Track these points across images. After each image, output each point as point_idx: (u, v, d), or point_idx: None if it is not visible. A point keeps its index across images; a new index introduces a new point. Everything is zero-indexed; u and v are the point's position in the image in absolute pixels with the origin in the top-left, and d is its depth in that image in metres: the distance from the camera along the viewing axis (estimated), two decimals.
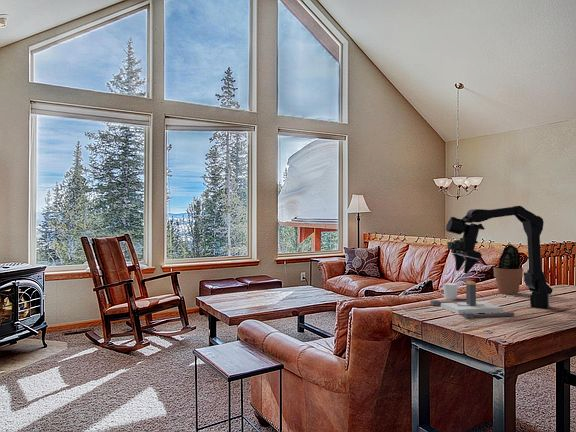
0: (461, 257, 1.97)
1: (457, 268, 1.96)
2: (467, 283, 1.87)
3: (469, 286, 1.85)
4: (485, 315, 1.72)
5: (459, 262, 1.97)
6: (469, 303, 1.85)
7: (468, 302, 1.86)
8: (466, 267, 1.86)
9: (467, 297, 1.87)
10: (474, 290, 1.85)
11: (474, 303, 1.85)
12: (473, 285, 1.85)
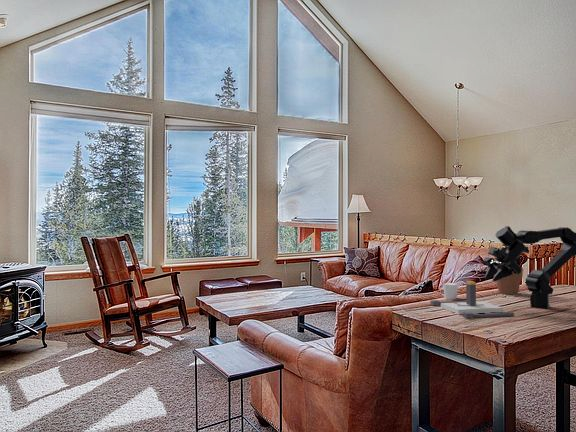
0: (494, 269, 1.92)
1: (487, 277, 1.90)
2: (467, 283, 1.87)
3: (469, 286, 1.85)
4: (485, 315, 1.72)
5: (491, 272, 1.91)
6: (469, 303, 1.85)
7: (468, 302, 1.86)
8: (497, 275, 1.84)
9: (467, 297, 1.87)
10: (474, 290, 1.85)
11: (474, 303, 1.85)
12: (473, 285, 1.85)
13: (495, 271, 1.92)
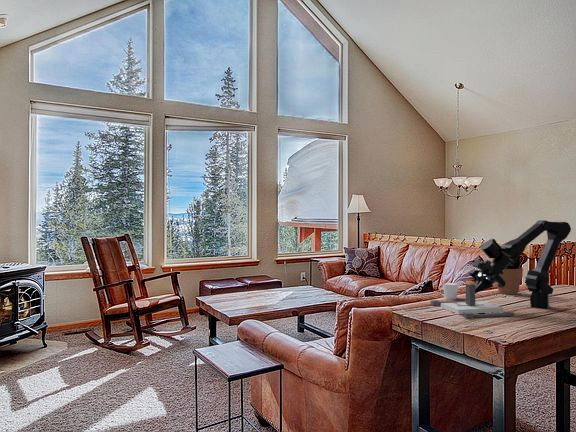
0: None
1: (475, 290, 1.87)
2: (466, 283, 1.87)
3: (468, 286, 1.85)
4: (485, 315, 1.72)
5: None
6: (468, 303, 1.85)
7: (467, 302, 1.86)
8: (478, 287, 1.86)
9: (466, 297, 1.87)
10: (473, 290, 1.85)
11: (473, 303, 1.85)
12: (473, 285, 1.85)
13: None
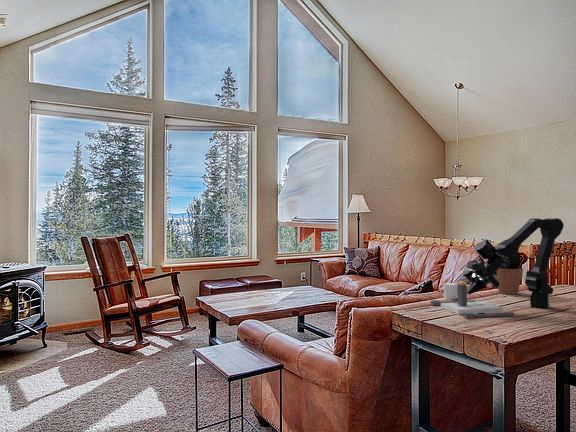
0: None
1: None
2: (458, 283, 1.86)
3: (460, 286, 1.85)
4: (485, 315, 1.72)
5: None
6: (460, 303, 1.85)
7: (459, 302, 1.85)
8: (472, 288, 1.85)
9: (458, 297, 1.86)
10: (465, 290, 1.84)
11: (465, 303, 1.84)
12: (464, 285, 1.84)
13: None
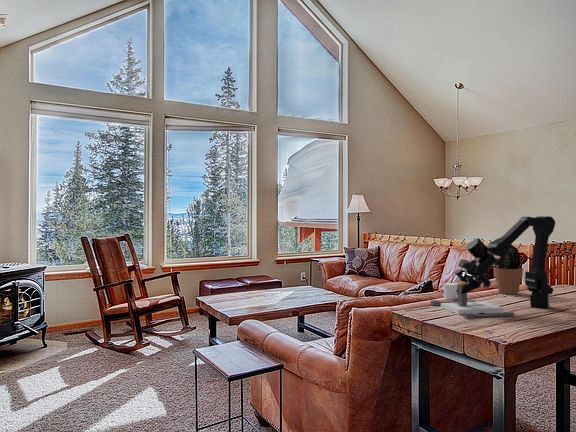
0: None
1: None
2: (458, 283, 1.86)
3: (460, 286, 1.85)
4: (485, 315, 1.72)
5: None
6: (460, 303, 1.85)
7: (459, 302, 1.85)
8: (465, 288, 1.83)
9: (458, 297, 1.86)
10: None
11: (465, 303, 1.84)
12: (464, 285, 1.84)
13: None
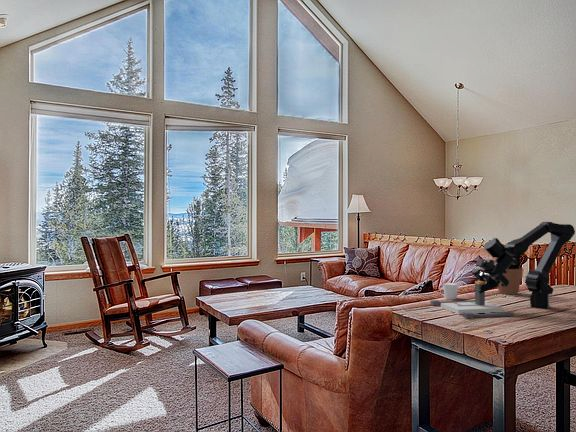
0: (484, 281, 1.90)
1: None
2: (476, 283, 1.87)
3: (478, 285, 1.86)
4: (485, 315, 1.72)
5: None
6: (478, 303, 1.86)
7: (477, 302, 1.87)
8: (483, 287, 1.84)
9: (476, 297, 1.87)
10: None
11: (483, 303, 1.86)
12: (482, 285, 1.86)
13: None
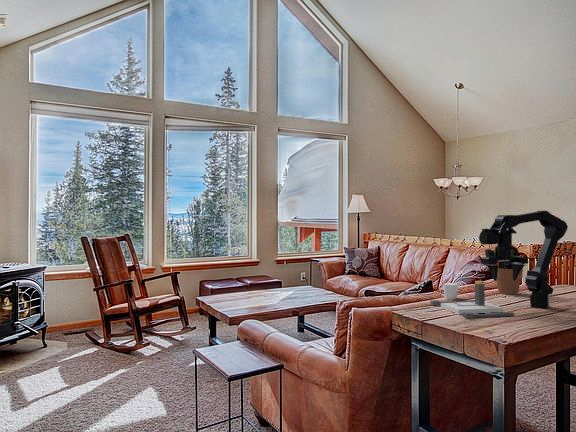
0: (516, 265, 1.89)
1: (513, 277, 1.90)
2: (476, 283, 1.87)
3: (478, 285, 1.86)
4: (485, 315, 1.72)
5: (514, 271, 1.90)
6: (478, 303, 1.86)
7: (477, 302, 1.87)
8: (492, 274, 1.89)
9: (476, 297, 1.87)
10: (483, 290, 1.86)
11: (483, 303, 1.86)
12: (482, 285, 1.86)
13: (517, 267, 1.89)
